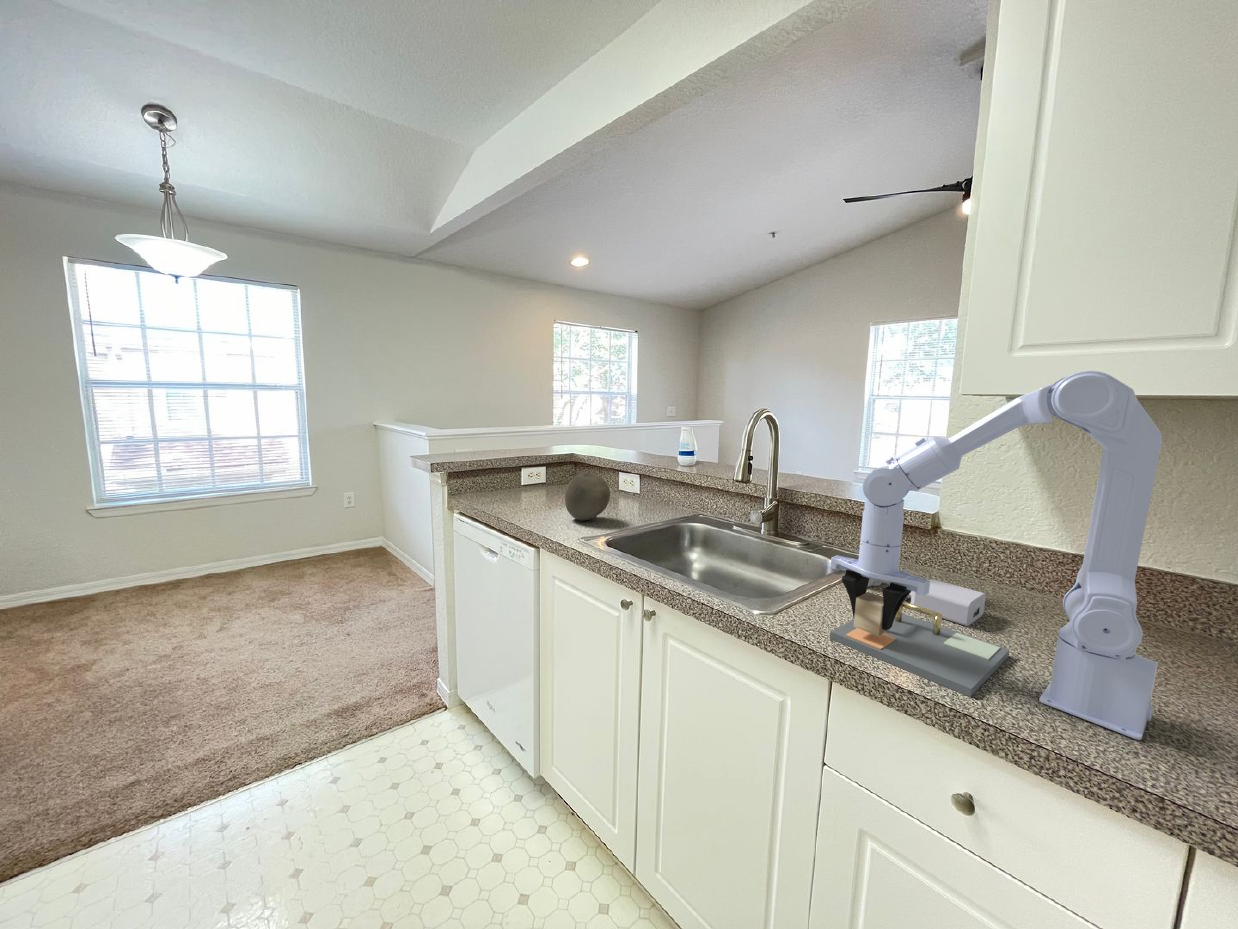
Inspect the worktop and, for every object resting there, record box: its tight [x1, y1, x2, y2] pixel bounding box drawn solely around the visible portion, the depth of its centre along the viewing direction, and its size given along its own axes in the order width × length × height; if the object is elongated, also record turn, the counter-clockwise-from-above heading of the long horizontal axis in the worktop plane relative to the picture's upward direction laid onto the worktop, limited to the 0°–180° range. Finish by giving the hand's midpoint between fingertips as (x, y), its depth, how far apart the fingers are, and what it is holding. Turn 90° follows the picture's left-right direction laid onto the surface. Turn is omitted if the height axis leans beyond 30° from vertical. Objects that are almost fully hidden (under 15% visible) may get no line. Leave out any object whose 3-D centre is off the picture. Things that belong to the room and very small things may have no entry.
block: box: [853, 591, 890, 636], centre depth 80 cm, size 4×4×5 cm
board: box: [829, 612, 1010, 698], centre depth 80 cm, size 20×18×1 cm
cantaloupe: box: [564, 472, 611, 522], centre depth 155 cm, size 14×14×15 cm
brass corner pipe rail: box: [895, 600, 943, 636], centre depth 82 cm, size 7×7×4 cm
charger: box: [888, 578, 987, 627], centre depth 96 cm, size 5×9×15 cm
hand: (872, 622), depth 80 cm, fingers closed on block, 4 cm apart
